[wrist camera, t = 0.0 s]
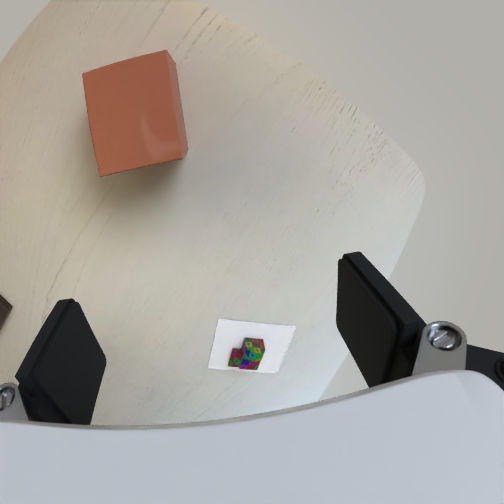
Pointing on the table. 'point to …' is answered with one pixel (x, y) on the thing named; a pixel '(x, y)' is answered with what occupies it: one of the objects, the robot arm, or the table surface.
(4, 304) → the dark brown shallow tray
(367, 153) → the table surface
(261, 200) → the table surface
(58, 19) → the table surface
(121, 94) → the orange brown block
